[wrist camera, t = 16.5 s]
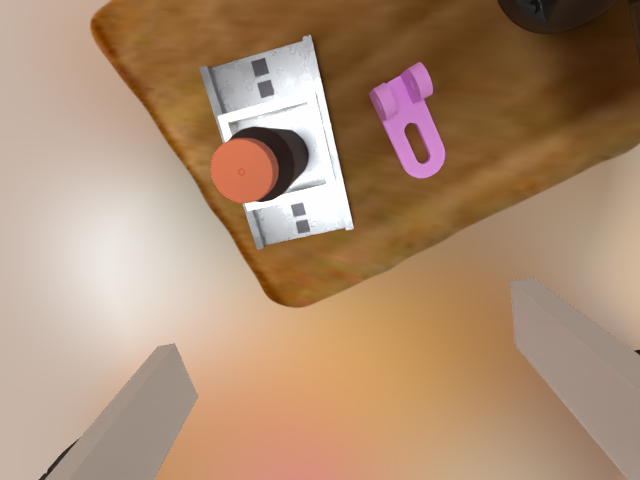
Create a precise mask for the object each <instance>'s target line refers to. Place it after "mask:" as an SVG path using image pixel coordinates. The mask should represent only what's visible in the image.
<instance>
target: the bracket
mask: <svg viewBox="0 0 640 480" xmlns="http://www.w3.org/2000/svg"><path fill="white" fill-rule="evenodd" d="M432 93H433V86H432V82H431V79H430V76H429V74H428V72H427V70H426V68H425V67H424V65H423V64H422V63H421V62H418V63H416V64H415V65H413V66H411V67H410V68H408V69H406V70H405V71H404V72H403V73H402V74H401V75H400V76H398V77H396V78H395V79H393V80H391V81H390V82H388V83H386V84H385V83H382V84H381V85H379V86H377V87H376V88H374V89H372V91H371V92H370V93H369V94H368V95H369V97H370V99H371V101H372V103H373V105H374V107H375V110H376V112H377V114H378V116H379V118H380V120H381V122H382V125H383V127H384V129H385V131H386V133H387V135H388V138H389V140H390V142H391V144H392V146H393V148H394V150H395V153H396V155H397V157H398V159H399V161H400V163H401V165H402V167H403V169H404V170H405V171H406V172H407V173H408V174H410V175H411V176H413V177H416V178H427V177H430V176H432V175H434V174H435V173H436V172H437V171H439V169H440V168H441V167H442V165H443V163H444V159H445V149H444V146H443V143H442V141H441V139H440V136H439V134H438V132H437V129H436V127H435V125H434V122H433V120H432V117H431V115H430V113H429V110H428V108H427V106H426V103H425V101H424V98H426V97H428V96H430V95H432ZM409 123H413V124H415V126H416V128H417V130H418V132H419V134H420V137H421V139H422V141H423V144H424V146H425V148H426V150H427V153H428V158H427V160H426V161H425V162H423V163H419V162H418V161H417V160H416V158H415V155H414V153H413V151H412V149H411V146H410V144H409V142H408V140H407V138H406V135H405V133H404V129H405V127H406V125H407V124H409Z"/></svg>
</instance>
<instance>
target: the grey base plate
mask: <svg viewBox="0 0 640 480" xmlns="http://www.w3.org/2000/svg"><path fill="white" fill-rule="evenodd" d="M199 69H200V72H201V75H202V78H203V81H204V84H205V88H206V91H207V94H208V97H209V100H210V103H211V106H212V109H213V113H214V116H215V119H216V122H217V125H218V128H219V131H220V135H221V138H222V141H223V143H225V142H227V141H228V140H229V139H230V138H231V136H232V135H234V134H235V133H237V132H238V131H240V130H241V129H244V128H248V127H253V126H257V127H267V128H277V129H287V130H291V131H293V132H295V133H297V134H298V135H299V136H300V137H301V138H302V139H303V140H304V142H305V144H306V145H307V149H308V153H309V158H308V164H307V166H306V169H305V171H304V172H303V173H302V174H301V175H300V176H299V177H298V179H297V180H296V181H295V182H294V183H293V184H292V185H291V186H290V187H289V188H288V189H287V190H286V191H285V193H284V194H283V195H281V196H279V197H278V198H276V199H274V200H272V201H267V202H262V203H261V202H252V203H246V204H245V203H243V207H244V210H245V213H246V216H247V219H248V222H249V225H250V229H251V232H252V235H253V238H254V241H255V244H256V247H257V250H258V249H263V248H264V247H265V246H266V245H268V244H272V243H277V242H281V241H286V240H291V239H295V238H300V237H304V236H309V235H313V234H318V233H323V232H327V231H332V230H336V229H341V228H345V227H346V230H350V229H354V228H353V222H352V218H351V213H350V209H349V204H348V200H347V195H346V190H345V186H344V181H343V177H342V172H341V168H340V163H339V159H338V154H337V150H336V145H335V141H334V136H333V131H332V127H331V122H330V118H329V113H328V109H327V104H326V100H325V95H324V91H323V86H322V82H321V77H320V72H319V68H318V63H317V59H316V54H315V50H314V45H313V41H312V37H311V35H308V36H304V37H303V41H301V42H297V43H294V44H291V45H287V46H284V47H281V48H277V49H274V50H270V51H267V52H264V53H260V54H257V55H254V56H250V57H247V58H243V59H240V60H237V61H233V62H230V63H226V64H223V65H220V66H216V67H213V68H211V67H209V66H204V67H200V68H199Z"/></svg>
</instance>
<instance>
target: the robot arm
mask: <svg viewBox="0 0 640 480" xmlns="http://www.w3.org/2000/svg"><path fill="white" fill-rule="evenodd" d="M498 1H499V3H500V5H501V7H502V8H503V10H504V11H505V13H506V14H507V15H508V16H509V18H510V19H511V20H512V21H514V22H515V23H516V24H517V25H519V26H521V27H522V28H524V29H527V30H529V31H532V32H536V33H543V34H552V33H560V32H564V31H567V30H570V29H573V28H575V27H578V26H580V25H582V24H584V23H586V22H589V21H591V20H593V19H594V18H596V17H598V16H599V15H601V14H602V13H604V12H605V11H607V10H608V9H609V8H611V7H612V6H613V5H614V4H615V3H616V2H618V1H619V0H498ZM629 8H630V13H631V19H632V24H633V30H634V36H635V41H636V47H637V52H638V58H639V63H640V0H629ZM510 283H511V297H512V310H513V323H514V337H515V346H516V347H517V348H518V349H519V350H520V352H521V353H522V354H523V355H524V356H525V358H527V360H528V361H529V362H530V363H531V365H532V366H533V367H534V368H535V369H536V371H537V372H538V373H539V374H540V375H541V377H542V378H543V379H544V380H545V381H546V383H547V384H548V385H549V386H550V387H551V389H552V390H553V391H554V392H555V393H556V394H557V396H558V397H559V398H560V399H561V400H562V402H563V403H564V404H565V405H566V406H567V408H568V409H569V410H570V411H571V412H572V413H573V415H574V416H575V417H576V418H577V420H578V421H579V422H580V423H581V424H582V425H583V427H584V428H585V429H586V430H587V431H588V433H589V434H590V435H591V436H592V437H593V439H594V440H595V441H596V442H597V443H598V444H599V446H600V447H601V448H602V449H603V451H604V452H605V453H606V454H607V455H608V457H610V459H611V460H612V461H613V462H614V464H615V465H616V466H617V467H618V468H619V470H620V471H621V472H622V473H623V474H624V476H625V477H626V478H627V479H628V480H640V350H636V351H633V350H632V349H631V348H629V347H628V346H627V345H625V344H624V343H622V342H621V341H620V340H618V339H617V338H616V337H614V336H613V335H611V334H610V333H609V332H607V331H606V330H605V329H603V328H602V327H601V326H599V325H598V324H597V323H595V322H594V321H592V320H591V319H590V318H588V317H587V316H586V315H584V314H583V313H582V312H580V311H579V310H577V309H576V308H575V307H573V306H572V305H571V304H569V303H568V302H566V301H565V300H564V299H562V298H561V297H560V296H558V295H557V294H556V293H554V292H553V291H551V290H550V289H549V288H547V287H546V286H545V285H543V284H542V283H541V282H539V281H538V280H536V279H535V278H534V277H529V278H524V279H519V280H513V281H510ZM197 398H198V395H197V393H196V391H195V388H194V386H193V384H192V381H191V379H190V377H189V375H188V373H187V370H186V368H185V366H184V364H183V361H182V359H181V356H180V354H179V352H178V350H177V347H176V345H175V344H169V345H164V346H158V347H157V348H156V349H155V350H154V352H153V353H152V354H151V355H150V356H149V357H148V359H147V360H146V361H145V362H144V363H143V364H142V366H141V367H140V368H139V369H138V370H137V372H136V373H135V374H134V375H133V376H132V377H131V379H130V380H129V381H128V382H127V383H126V384H125V386H124V387H123V388H122V389H121V390H120V392H119V393H118V394H117V395H116V396H115V398H114V399H113V400H112V401H111V402H110V403H109V405H108V406H107V407H106V408H105V409H104V410H103V412H102V413H101V414H100V415H99V417H97V419H96V420H95V421H94V422H93V423H92V425H91V426H90V427H89V428H88V429H87V430H86V432H85V433H84V434H83V435H82V436H81V437H80V438H79V439H78V440H77V441H76V442H74V443H73V444H72V445H71V446H70V447H69V448H67V449H66V450H65V451H64V452H63V453H62V454H61V455H60V456H59V457H58V458H57V460H56V461H55V462H54V463H53V464H52V465H51V466H50V468H49V469H48V471H47V473H45V474H44V475H43V476H42V477H41V478H40V479H39V480H154V479H155V477H156V475H157V473H158V471H159V469H160V467H161V465H162V464H163V462H164V460H165V458H166V456H167V454H168V452H169V450H170V448H171V447H172V445H173V443H174V441H175V439H176V437H177V435H178V433H179V432H180V430H181V428H182V426H183V424H184V422H185V420H186V419H187V417H188V415H189V413H190V411H191V409H192V407H193V405H194V404H195V402H196V400H197Z"/></svg>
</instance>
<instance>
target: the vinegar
mask: <svg viewBox="0 0 640 480" xmlns="http://www.w3.org/2000/svg"><path fill="white" fill-rule="evenodd" d="M222 144H223V145H220V147H218V149H216V150H217V151H215V153H214V156H212V157H213V159H212V161H211V164H210V165H211V167H210V168H211V176H212V178H211V179H213V182H214V184H215V185H216V186H215V187H217V189H218V190H219V192H220V193H222V195H224V197H227V198H228V199H229V200H232V201H234V202H237V203H238V202H239V203H242V204H243V203H245V204H246V203H252V202H261V203H262V202H267V201H272V200H274V199H276V198H278V197H279V196H281V195H283V194H284V193H285V191H286V190H287V189H288V188H289V187H290V186H291V185H292V184H293V183H294V182H295V181H296V180H297V179H298V177H299V176H300V175H301V174H302V173H303V172H304V171H305V169H306V166H307V164H308V158H309V153H308V149H307V145H306V144H305V142H304V140H303V139H302V138H301V137H300V136H299V135H298V134H297V133H295V132H293V131H291V130H287V129H277V128H267V127H257V126H253V127H248V128H244V129H241V130H240V131H238V132H237V133H235V134H234V135H232V136H231V138H230V139H229V140H228V141H227V142H225V143H222Z"/></svg>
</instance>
